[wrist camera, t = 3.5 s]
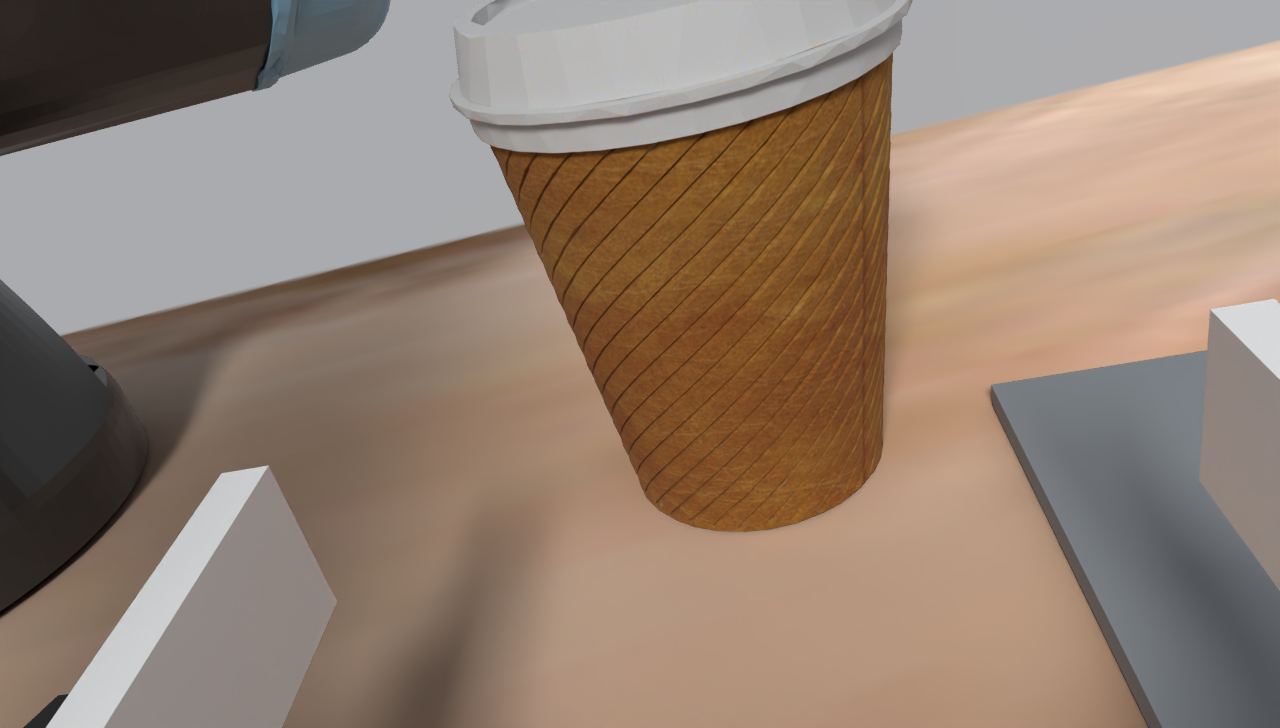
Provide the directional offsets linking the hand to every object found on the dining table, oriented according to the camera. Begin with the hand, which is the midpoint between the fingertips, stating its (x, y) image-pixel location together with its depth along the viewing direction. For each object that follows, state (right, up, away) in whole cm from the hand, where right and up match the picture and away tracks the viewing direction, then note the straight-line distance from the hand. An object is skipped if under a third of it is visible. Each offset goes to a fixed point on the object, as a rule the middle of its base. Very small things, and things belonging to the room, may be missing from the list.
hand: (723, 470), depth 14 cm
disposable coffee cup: (+2, -1, +12) cm, 12 cm away
